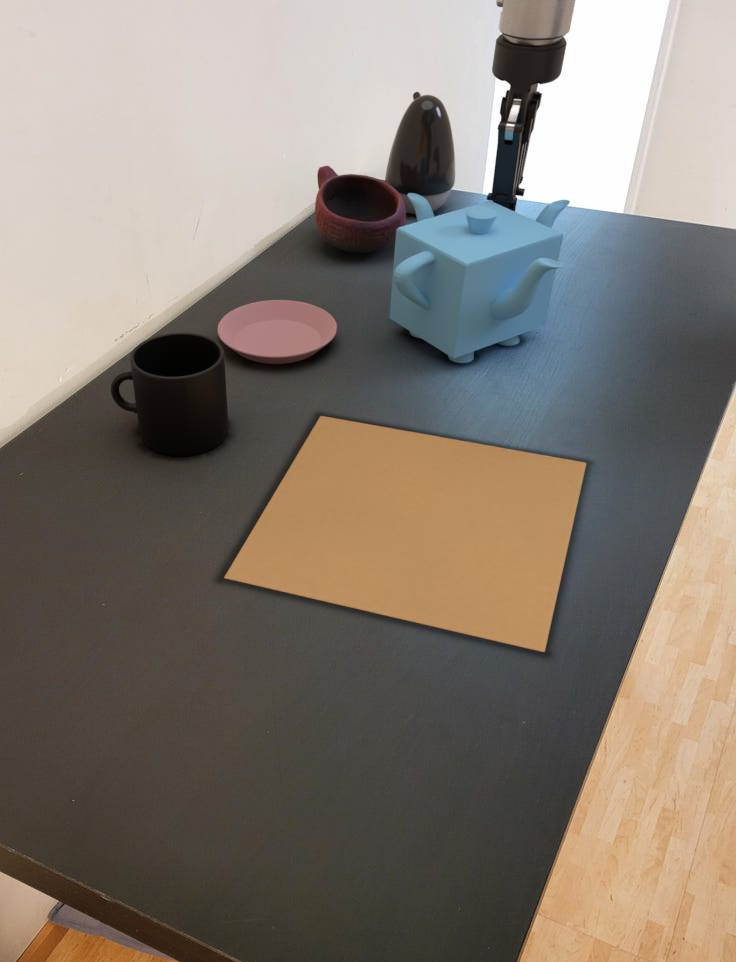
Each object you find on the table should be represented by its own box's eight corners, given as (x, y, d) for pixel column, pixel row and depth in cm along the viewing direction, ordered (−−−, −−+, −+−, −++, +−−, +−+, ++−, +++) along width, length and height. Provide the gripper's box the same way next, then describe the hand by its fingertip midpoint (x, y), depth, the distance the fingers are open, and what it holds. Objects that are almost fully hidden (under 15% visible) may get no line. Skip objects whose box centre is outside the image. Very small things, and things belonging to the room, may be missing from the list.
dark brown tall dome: (439, 192, 146) (450, 82, 135) (460, 217, 138) (474, 103, 128) (375, 198, 145) (382, 87, 134) (393, 223, 137) (402, 109, 127)
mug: (125, 407, 104) (114, 330, 97) (233, 409, 103) (229, 332, 96) (108, 455, 97) (95, 376, 90) (223, 458, 96) (218, 379, 89)
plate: (360, 347, 112) (361, 331, 110) (262, 385, 106) (262, 368, 105) (290, 304, 120) (290, 289, 119) (195, 337, 114) (194, 321, 113)
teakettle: (379, 367, 108) (388, 239, 98) (397, 294, 121) (408, 174, 111) (546, 382, 105) (575, 251, 95) (547, 305, 118) (573, 183, 107)
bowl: (420, 240, 133) (426, 181, 127) (375, 273, 126) (379, 212, 120) (324, 218, 140) (325, 160, 134) (276, 248, 132) (275, 189, 127)
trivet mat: (586, 464, 94) (586, 462, 94) (544, 653, 76) (544, 652, 76) (320, 417, 101) (320, 415, 101) (223, 579, 83) (223, 577, 83)
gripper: (508, 17, 106) (477, 227, 123) (485, 48, 98) (455, 268, 115) (576, 22, 104) (535, 234, 121) (558, 54, 96) (516, 277, 113)
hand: (496, 251), depth 118 cm, fingers closed
